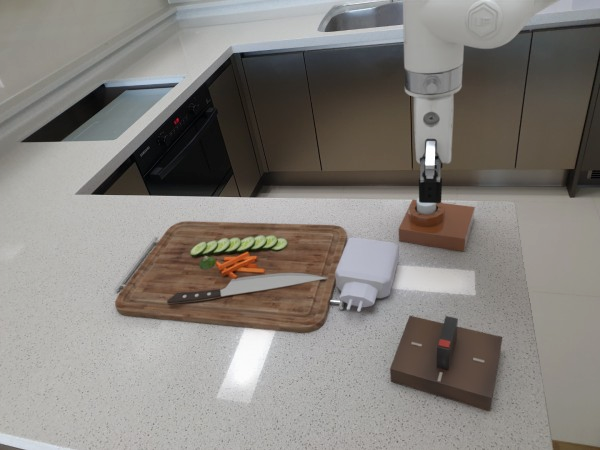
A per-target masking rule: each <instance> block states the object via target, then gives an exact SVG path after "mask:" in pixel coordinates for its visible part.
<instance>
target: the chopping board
mask: <svg viewBox="0 0 600 450" xmlns="http://www.w3.org/2000/svg"><path fill="white" fill-rule="evenodd" d="M158 239H159V238H158V237H157V236H154V237H153V239H152V240H151V241H150V242H149V244H148V245H146V248H145V249H144V250H143V252H142V253H141V254H140V256H139V257H138V258H137V259H136V260H135V262H134V263H133V265H132V266H131V267H130V268H129V269H128V271H127V272H126V273H125V274H124V276H123V278H122V279H121V280H120V281H119V283H118V284H117V285H116V287H115V288H114V291H115V292H119V291H120V289H121V288H122V290H121V291H120V292H119V294H118V295H117V297H116V299H115V301H114V303H115V304H114V306H115V308H116V310H117V311H118V313H119V314H120V315H123V316H126V317H135V318H136V317H137V318H145V319H156V320H157V319H158V320H168V321H178V322H186V323H187V322H188V323H189V322H190V323H197V324H209V325H217V326H230V327H237V328H239V327H240V328H250V329H260V330H268V331H278V332H280V331H281V332H291V333H298V334H299V333H301V334H302V333H304V334H305V333H312V332H315V331H317V330H319V329H320V328H321V327H322V326H324V325H325V322H326V321H327V318H328V314H329V310H330V307H331V304H338V309H339V310H344V307H345V304H346V303H345V302H343V301H342V300H341V299H340V300H339V299H333V295H334V293H335V288H336V278H335V271H336V269H337V266H338V264H339V261H340V259H341V256H342V254H343V251H344V249H345V246H346V244H347V241H348V234H347V230H345V227H342V226H340V225H337V224H336V225H335V224H312V223H311V224H310V223H308V224H306V223H273V222H272V223H271V222H269V223H268V222H229V221H195V220H194V221H193V220H191V221H190V220H186V221H179V222H177V223H175V224H172V225H171V226H170V227H169V228H168V229H167V230H166V231H165V233H164V234H163V235H162V236H161V238H160V239H159V240H158ZM155 244H156V245H155ZM153 246H154V247H153ZM151 249H152V250H151ZM150 250H151V251H150ZM149 251H150V252H149ZM147 254H148V255H147ZM146 255H147V256H146ZM144 258H145V259H144ZM143 259H144V260H143ZM142 261H143V262H142ZM141 262H142V263H141ZM138 266H139V267H138ZM137 267H138V268H137ZM136 269H137V270H136ZM135 270H136V271H135ZM134 271H135V272H134ZM133 272H134V274H133ZM132 274H133V275H132ZM131 275H132V276H131ZM130 276H131V278H130ZM129 278H130V279H129ZM128 279H129V281H128V282H127V280H128ZM126 282H127V283H126Z"/></svg>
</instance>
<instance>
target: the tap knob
mask: <svg viewBox="0 0 600 450" xmlns="http://www.w3.org/2000/svg"><path fill="white" fill-rule="evenodd" d="M443 323H444V324H443V328H442V331H441V334H440V338H439V341H438V345H437V363H436V367H440V368H443V369H447V370H449V366H450V363H451V359H452V355H453V351H454V347H455V343H456V339H457V327H459V326H458V324H459V318H457V317H453V316H447V315H445V317H444V321H443Z"/></svg>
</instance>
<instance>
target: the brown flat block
mask: <svg viewBox="0 0 600 450" xmlns="http://www.w3.org/2000/svg"><path fill="white" fill-rule="evenodd" d="M443 324H444V322H439V321H435V320H431V319H428V318H427V319H426V318H422V317H418V316H413V315H409V316H408V318H407V322H406V324H405V327H404V329H403V332H402V334H401V335H402V336H401V338H400V341H399V343H398V346H397V349H396V351H395V354H394V357H393V359H392V362H391V365H390V368H389V373H390V382H391V383H395V384H398V385H402V386H404V387H409V388H412V389H415V390H418V391H421V392H424V393H428V394H430V395H431V394H432V395H434V396H438V397H440V398H441V397H442V398H444V399H448V400H451V401H455V402H458V403H460V404H464V405H468V406H472V407H475V408H478V409H481V410H483V411H484V410H485V411H488V412H490V411H491V409H492V403H493V396H494V390H495V386H496V379H497V373H498V367H499V360H500V356H501V349H502V344H503V343H502V342H503V336H500V335H496V334H493V333H487V332H483V331H478V330H474V329H471V328H470V329H469V328H466V327H461V326H457V339H456V343H455V347H454V351H453V355H452V359H451V363H450V366H449V370H447V369H443V368H440V367H436V363H437V345H438V341H439V338H440V334H441V331H442V328H443Z"/></svg>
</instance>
